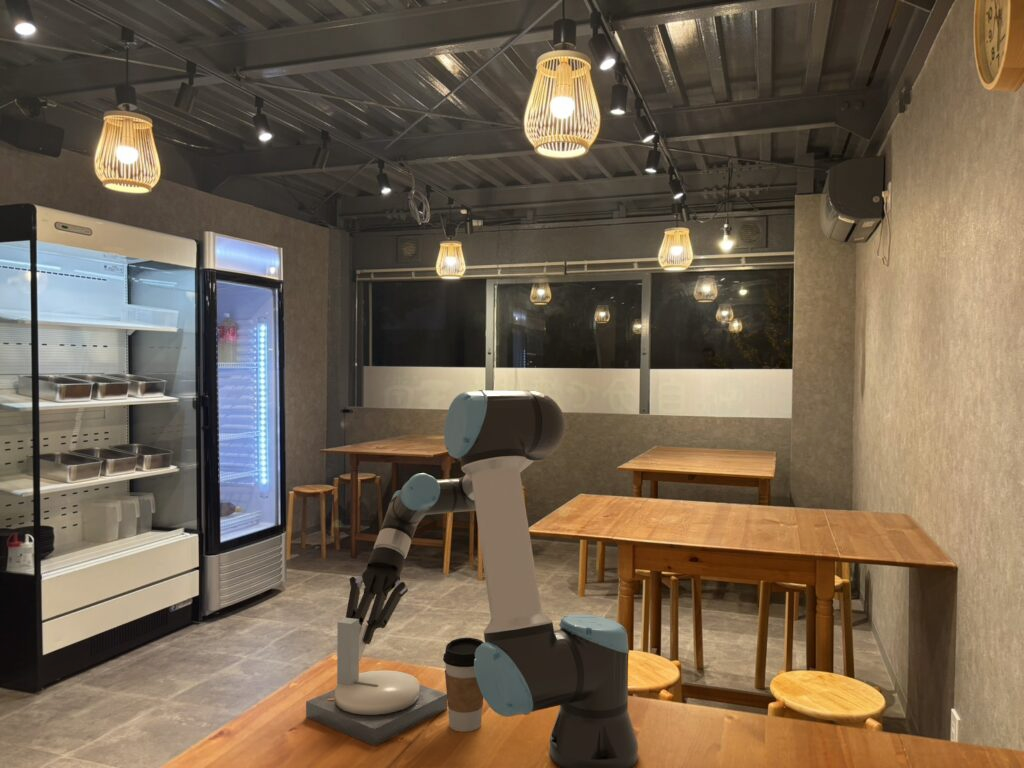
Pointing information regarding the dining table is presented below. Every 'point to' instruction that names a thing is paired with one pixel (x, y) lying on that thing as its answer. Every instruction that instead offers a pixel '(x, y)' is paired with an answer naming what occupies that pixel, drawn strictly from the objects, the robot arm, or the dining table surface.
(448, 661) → the coffee cup
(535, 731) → the dining table surface
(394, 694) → the dial
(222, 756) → the dining table surface
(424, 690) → the dial housing
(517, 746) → the dining table surface
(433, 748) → the dining table surface
